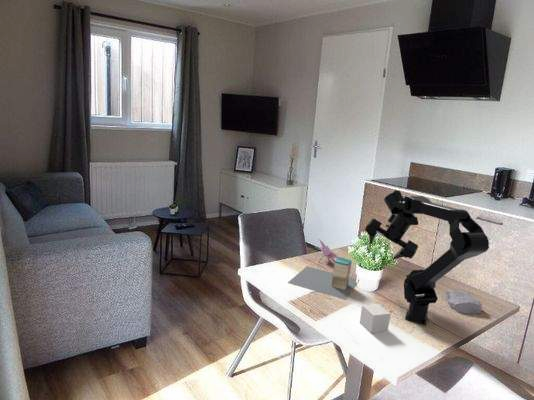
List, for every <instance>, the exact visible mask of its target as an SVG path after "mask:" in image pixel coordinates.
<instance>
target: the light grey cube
mask: <svg viewBox="0 0 534 400" xmlns="http://www.w3.org/2000/svg"><path fill="white" fill-rule="evenodd" d="M390 320H391V312H389V311H388V310H387V308H385V307H383V306H382V305H381V304H380V303H376V304H375V303H374V304H365V305H362V306H361V311H360V319H359V324H360V325H361V326H362V327H363V328H364V329H365V330H366V331H367V332H368V333H369V334H378V333H385V332H388V331H389V326H390Z"/></svg>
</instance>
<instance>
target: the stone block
mask: <svg viewBox="0 0 534 400" xmlns="http://www.w3.org/2000/svg"><path fill="white" fill-rule="evenodd" d="M444 297H445V298H446V301H447V303H448V306H449V307H450V308H451V309H452V310H453V311H456V312H458V313H462V314H481V313H482V310H483V308H482V307H483V306H482V304H483V303H482V302H481V301H480V300H479V299H477V298H476V297H475V298H474V297H473V296H472V295H471V293H470V292H468V291H466V292H465V291H462V290H457V289H456V290H453V289H450V290H446V291H445V292H444Z"/></svg>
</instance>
